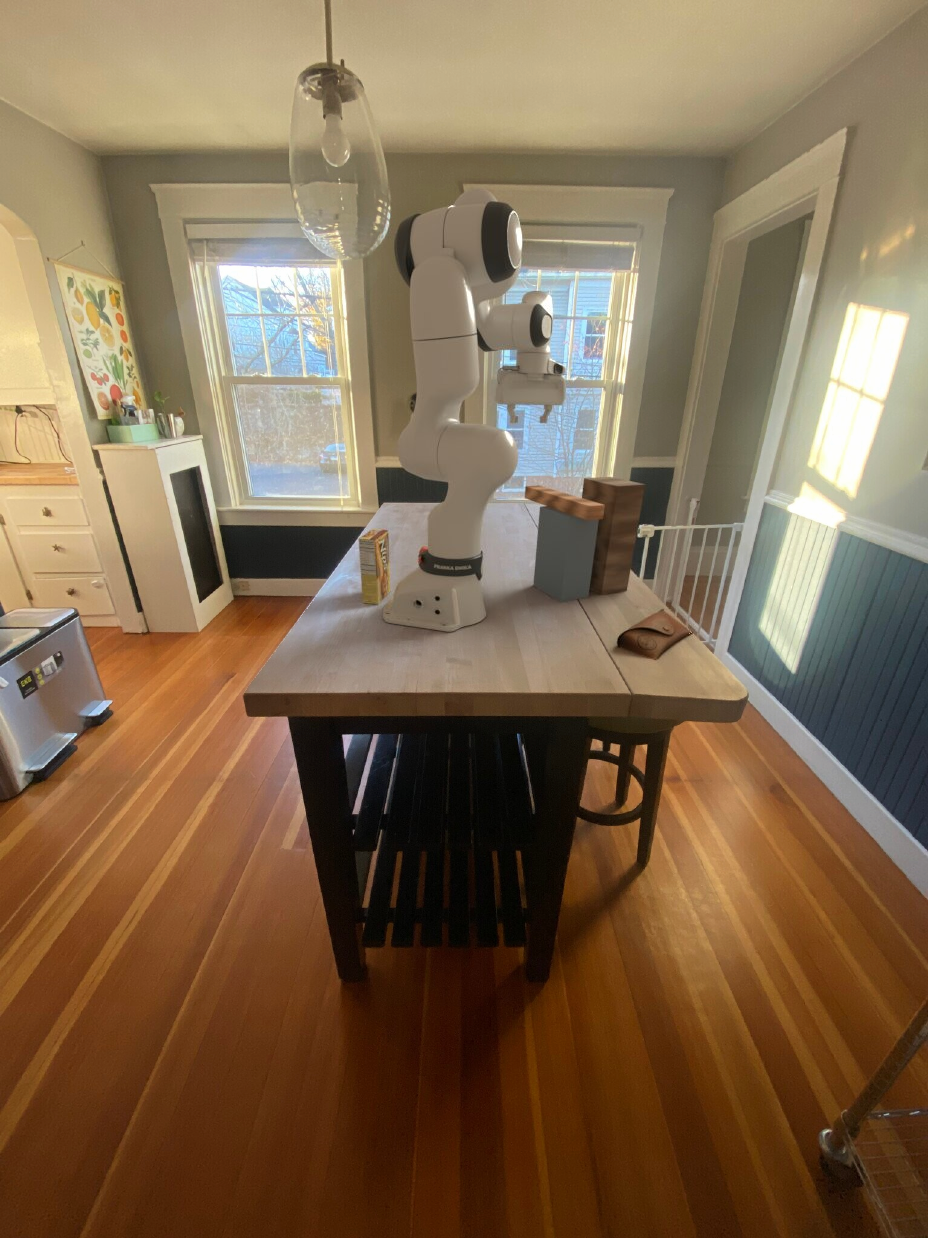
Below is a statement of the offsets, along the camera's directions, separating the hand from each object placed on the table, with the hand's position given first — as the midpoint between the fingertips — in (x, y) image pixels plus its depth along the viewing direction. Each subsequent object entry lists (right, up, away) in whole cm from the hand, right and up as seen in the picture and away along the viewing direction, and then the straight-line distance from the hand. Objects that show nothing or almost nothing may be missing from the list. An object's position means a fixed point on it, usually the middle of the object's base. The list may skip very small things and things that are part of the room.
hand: (528, 423), depth 133 cm
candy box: (-38, -49, -19) cm, 65 cm away
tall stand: (+17, -45, -9) cm, 49 cm away
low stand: (+6, -47, -13) cm, 49 cm away
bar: (+5, -28, -19) cm, 34 cm away
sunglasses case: (+21, -59, -36) cm, 72 cm away
